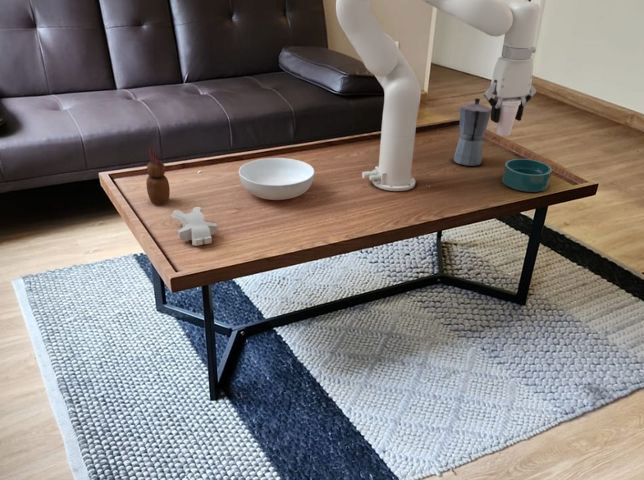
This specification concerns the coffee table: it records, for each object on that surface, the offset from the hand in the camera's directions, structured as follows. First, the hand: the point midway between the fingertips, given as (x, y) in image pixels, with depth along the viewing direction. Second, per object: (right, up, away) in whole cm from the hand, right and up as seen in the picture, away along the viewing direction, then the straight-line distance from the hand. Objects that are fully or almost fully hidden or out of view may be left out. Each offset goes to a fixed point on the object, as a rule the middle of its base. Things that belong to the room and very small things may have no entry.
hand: (505, 119), depth 178 cm
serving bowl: (-64, -20, +2) cm, 67 cm away
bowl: (+9, -16, +13) cm, 22 cm away
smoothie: (0, -3, +2) cm, 4 cm away
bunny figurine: (-82, -34, -20) cm, 91 cm away
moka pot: (-4, -7, +27) cm, 28 cm away
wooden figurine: (-95, -24, -5) cm, 98 cm away
